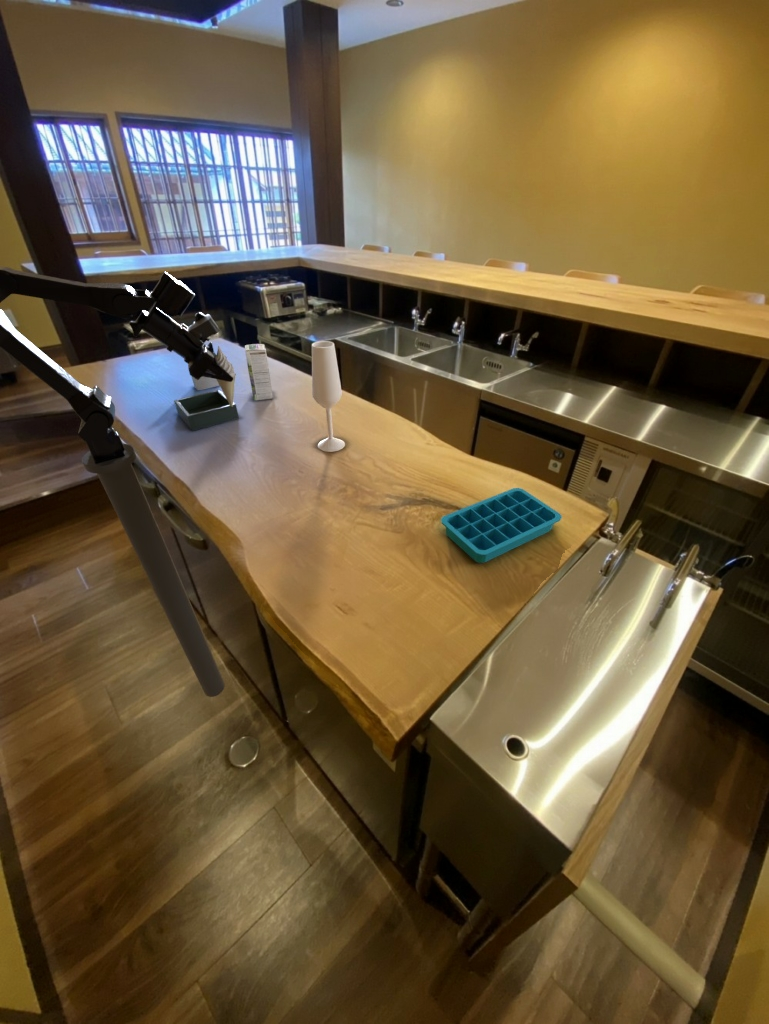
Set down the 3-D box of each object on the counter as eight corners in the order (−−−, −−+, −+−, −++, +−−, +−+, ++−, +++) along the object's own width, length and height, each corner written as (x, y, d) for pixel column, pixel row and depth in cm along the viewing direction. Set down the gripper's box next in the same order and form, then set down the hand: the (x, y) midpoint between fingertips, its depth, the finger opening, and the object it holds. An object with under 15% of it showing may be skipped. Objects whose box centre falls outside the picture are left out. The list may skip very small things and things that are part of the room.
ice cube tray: (436, 531, 78) (437, 518, 77) (515, 498, 87) (518, 486, 85) (478, 569, 71) (481, 556, 69) (560, 529, 79) (565, 517, 77)
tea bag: (219, 385, 134) (212, 353, 128) (198, 390, 131) (189, 357, 125) (215, 382, 137) (207, 350, 131) (194, 387, 133) (185, 354, 127)
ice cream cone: (231, 401, 111) (218, 341, 101) (246, 404, 109) (234, 344, 100) (217, 408, 107) (202, 346, 98) (232, 412, 105) (219, 350, 96)
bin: (192, 431, 110) (187, 416, 107) (178, 414, 118) (173, 400, 115) (239, 418, 116) (235, 404, 113) (222, 403, 124) (219, 389, 121)
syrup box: (252, 393, 129) (243, 344, 120) (272, 391, 131) (264, 343, 122) (253, 401, 125) (244, 350, 116) (274, 398, 126) (266, 348, 117)
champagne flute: (350, 445, 104) (345, 344, 89) (328, 454, 100) (318, 351, 86) (334, 435, 108) (326, 337, 93) (312, 444, 104) (300, 343, 90)
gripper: (191, 313, 85) (256, 362, 95) (189, 294, 99) (246, 339, 109) (160, 356, 87) (227, 400, 97) (162, 333, 101) (220, 373, 111)
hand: (231, 376), depth 104 cm, fingers closed on ice cream cone, 5 cm apart
